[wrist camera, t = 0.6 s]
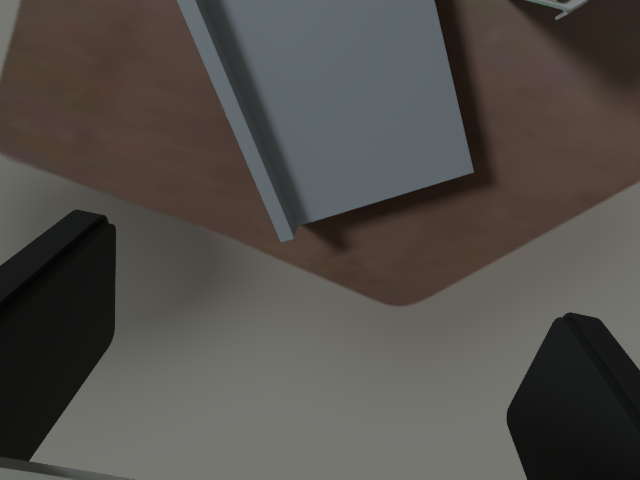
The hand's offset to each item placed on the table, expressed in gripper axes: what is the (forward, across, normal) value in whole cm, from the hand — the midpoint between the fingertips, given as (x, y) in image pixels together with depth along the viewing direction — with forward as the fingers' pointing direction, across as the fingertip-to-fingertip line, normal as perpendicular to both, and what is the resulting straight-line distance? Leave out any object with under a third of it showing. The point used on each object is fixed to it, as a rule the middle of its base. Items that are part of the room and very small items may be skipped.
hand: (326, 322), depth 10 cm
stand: (+27, +1, -2) cm, 27 cm away
